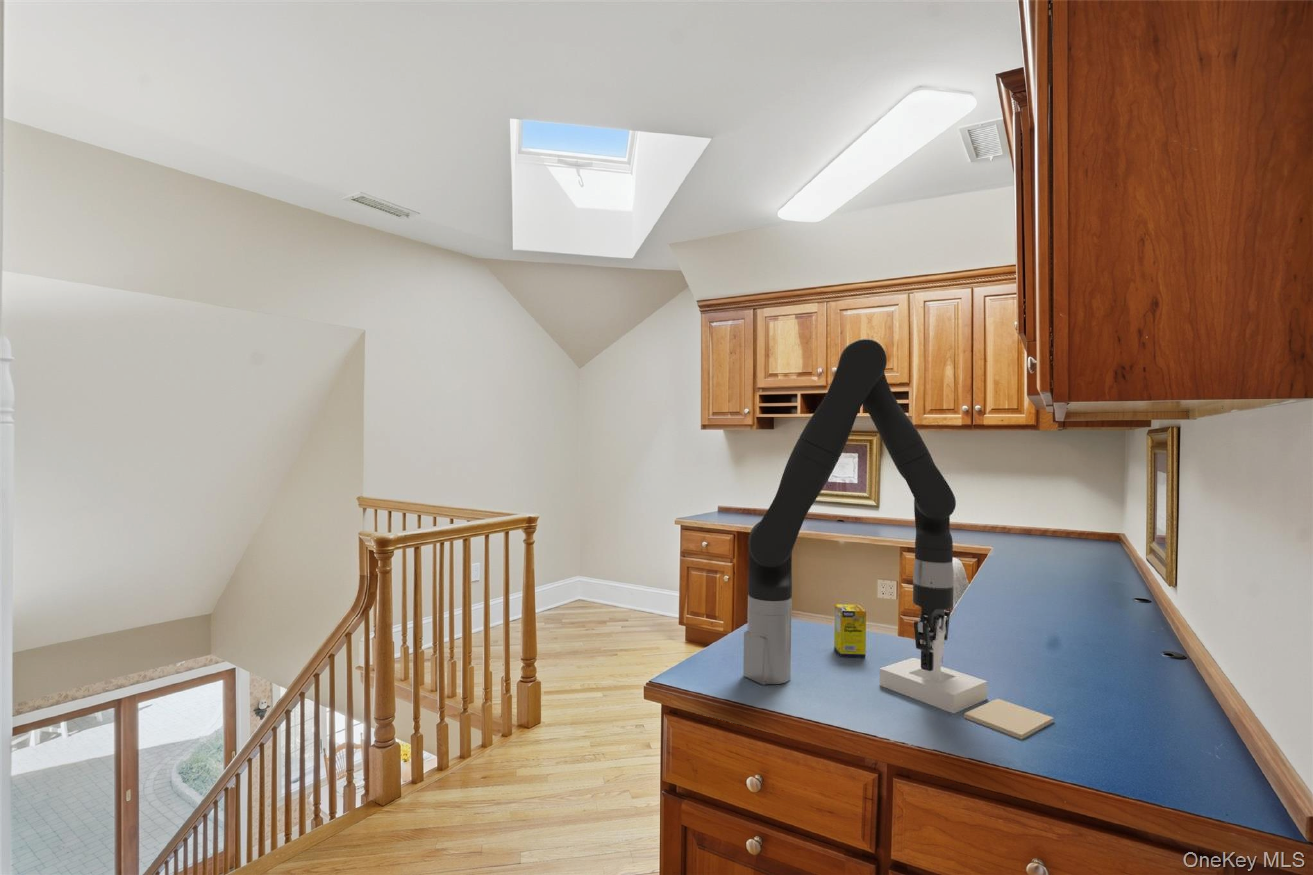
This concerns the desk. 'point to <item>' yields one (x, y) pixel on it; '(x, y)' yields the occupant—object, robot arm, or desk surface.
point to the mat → (1009, 718)
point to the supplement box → (850, 631)
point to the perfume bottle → (935, 659)
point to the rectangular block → (934, 686)
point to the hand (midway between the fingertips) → (931, 665)
